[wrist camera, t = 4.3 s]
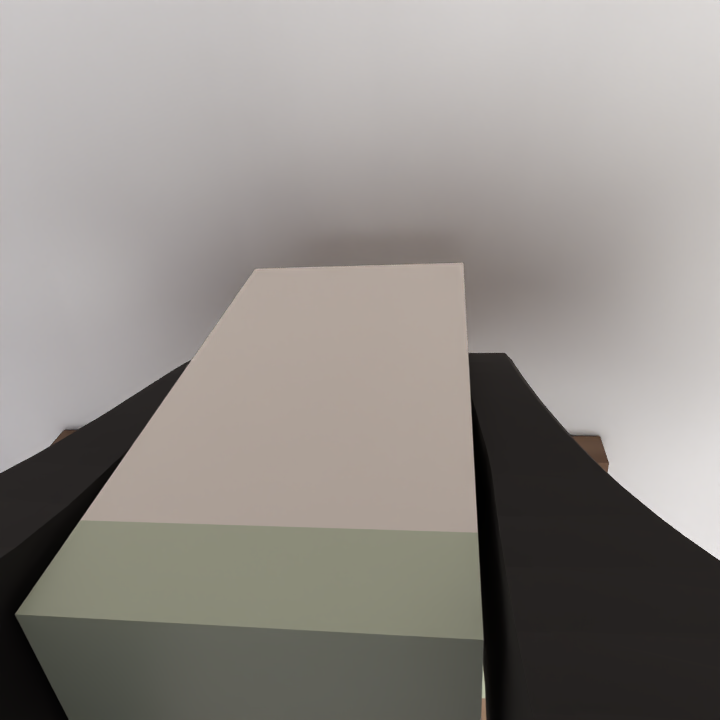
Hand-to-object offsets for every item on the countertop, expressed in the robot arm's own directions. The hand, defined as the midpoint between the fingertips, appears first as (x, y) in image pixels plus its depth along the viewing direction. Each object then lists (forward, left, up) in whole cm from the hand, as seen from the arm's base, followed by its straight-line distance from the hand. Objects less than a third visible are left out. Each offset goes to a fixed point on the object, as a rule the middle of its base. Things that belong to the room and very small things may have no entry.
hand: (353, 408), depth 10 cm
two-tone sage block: (0, 0, -2) cm, 2 cm away
